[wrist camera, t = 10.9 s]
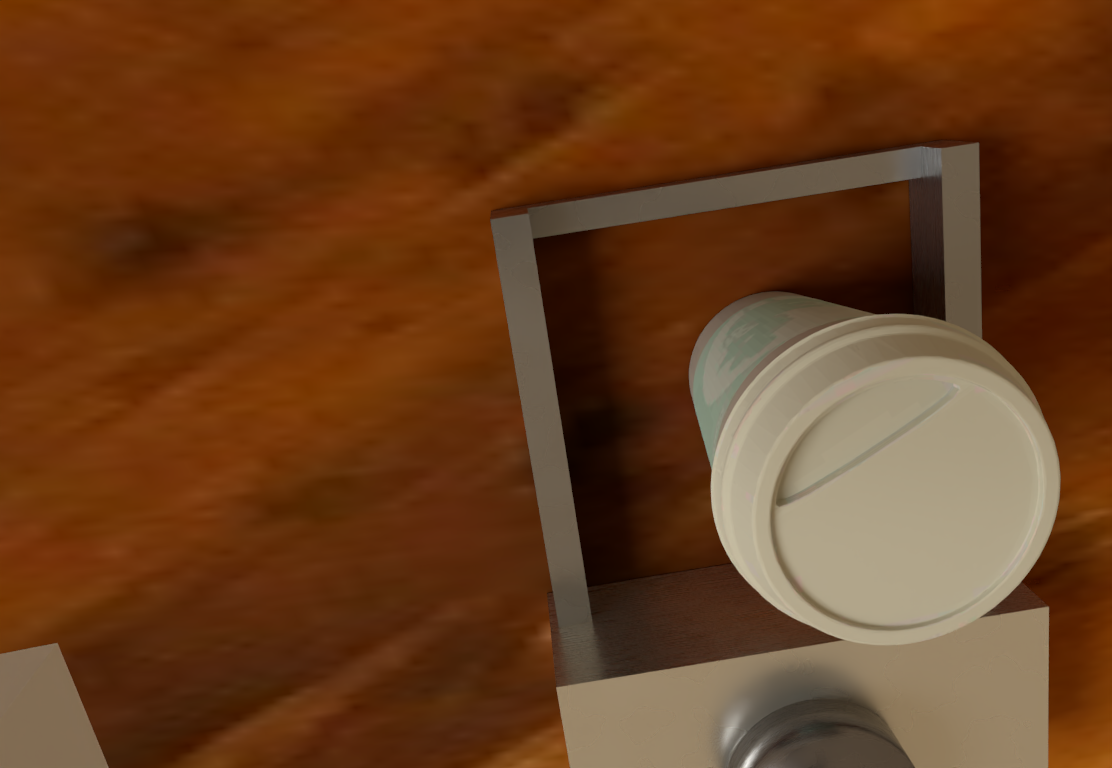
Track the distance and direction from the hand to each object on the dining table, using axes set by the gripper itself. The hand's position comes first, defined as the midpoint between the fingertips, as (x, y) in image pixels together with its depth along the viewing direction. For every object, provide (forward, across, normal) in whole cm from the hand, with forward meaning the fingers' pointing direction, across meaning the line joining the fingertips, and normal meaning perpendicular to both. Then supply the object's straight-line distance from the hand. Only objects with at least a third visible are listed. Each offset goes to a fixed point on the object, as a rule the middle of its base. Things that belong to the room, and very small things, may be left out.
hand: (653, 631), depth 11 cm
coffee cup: (+22, +7, -5) cm, 24 cm away
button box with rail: (+22, +6, -10) cm, 25 cm away
